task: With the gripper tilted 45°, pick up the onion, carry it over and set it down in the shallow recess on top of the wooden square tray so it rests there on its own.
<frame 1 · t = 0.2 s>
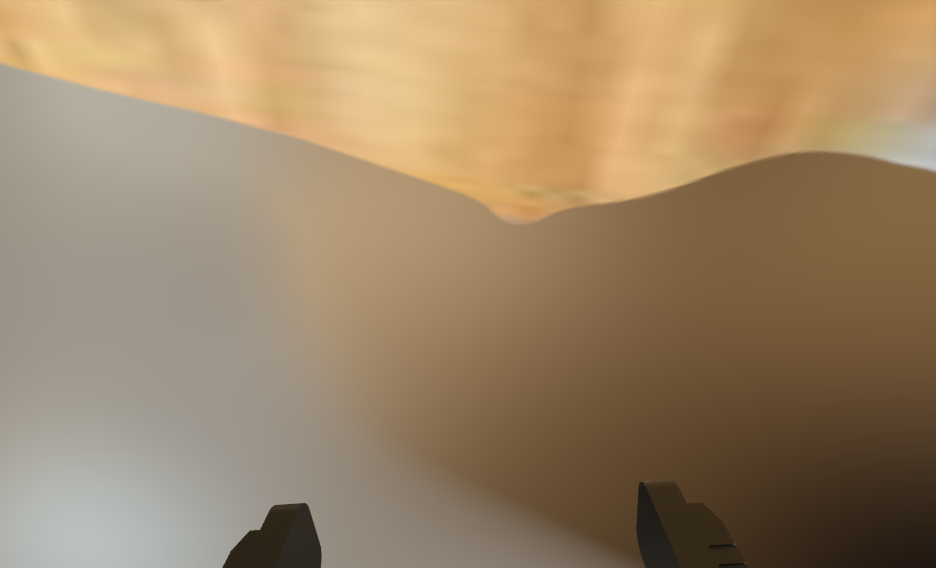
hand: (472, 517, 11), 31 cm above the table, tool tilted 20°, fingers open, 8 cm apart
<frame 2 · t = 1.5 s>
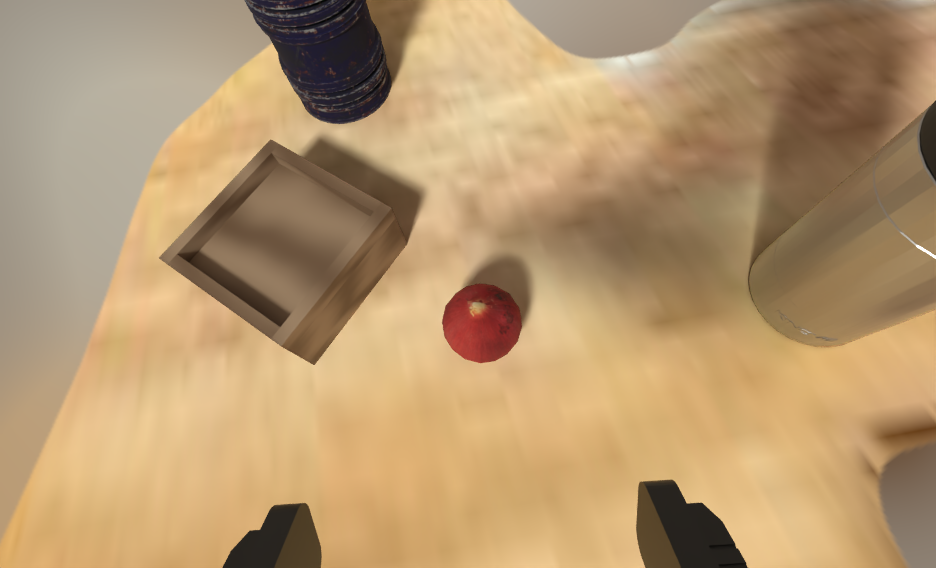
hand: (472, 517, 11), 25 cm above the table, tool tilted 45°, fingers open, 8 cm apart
wooden square tray: (307, 267, 43), on the table
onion: (484, 337, 39), on the table
storage jar: (346, 88, 50), on the table
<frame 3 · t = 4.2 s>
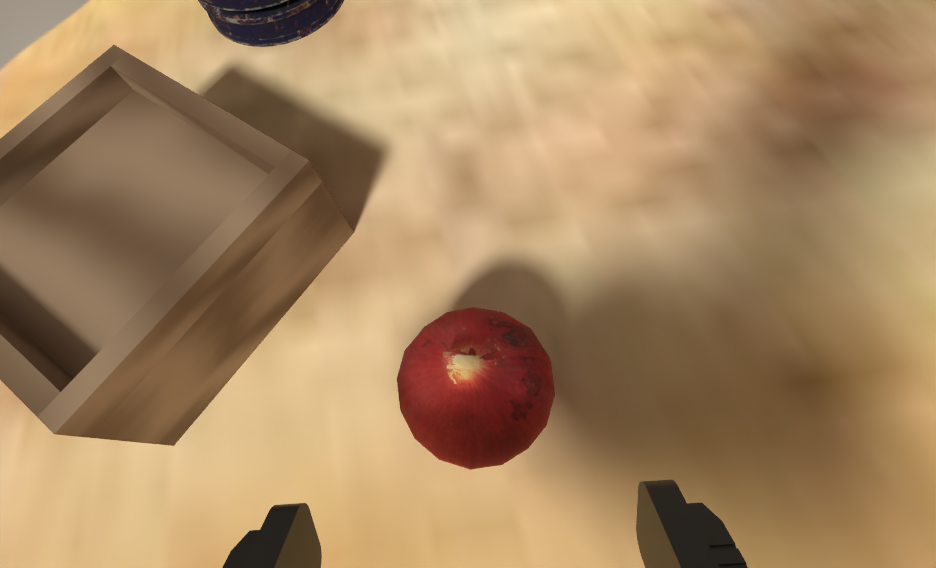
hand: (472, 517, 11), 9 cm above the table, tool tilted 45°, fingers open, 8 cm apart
wooden square tray: (187, 268, 25), on the table
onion: (481, 400, 21), on the table
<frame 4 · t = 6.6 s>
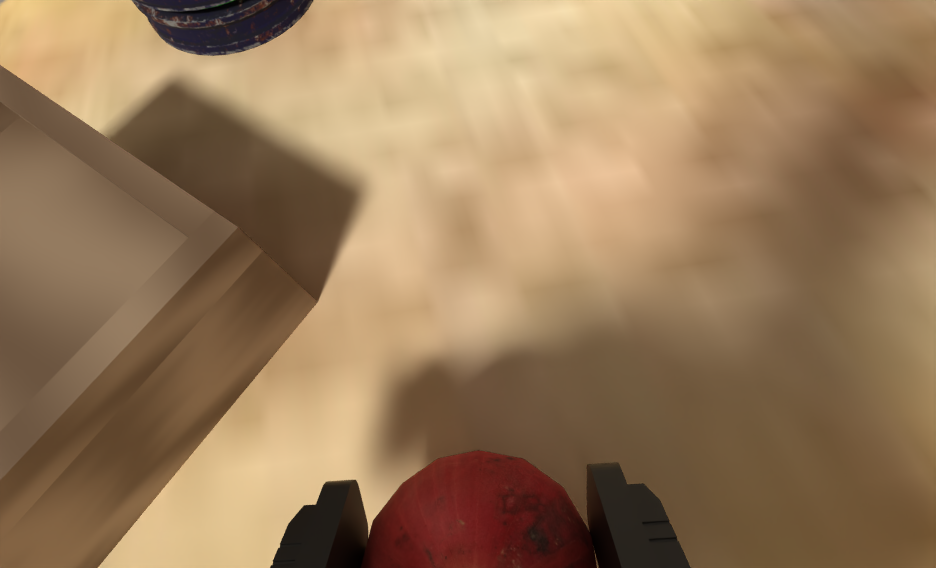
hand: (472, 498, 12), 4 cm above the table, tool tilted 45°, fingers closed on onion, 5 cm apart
wooden square tray: (100, 348, 19), on the table
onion: (486, 551, 15), on the table, touching gripper
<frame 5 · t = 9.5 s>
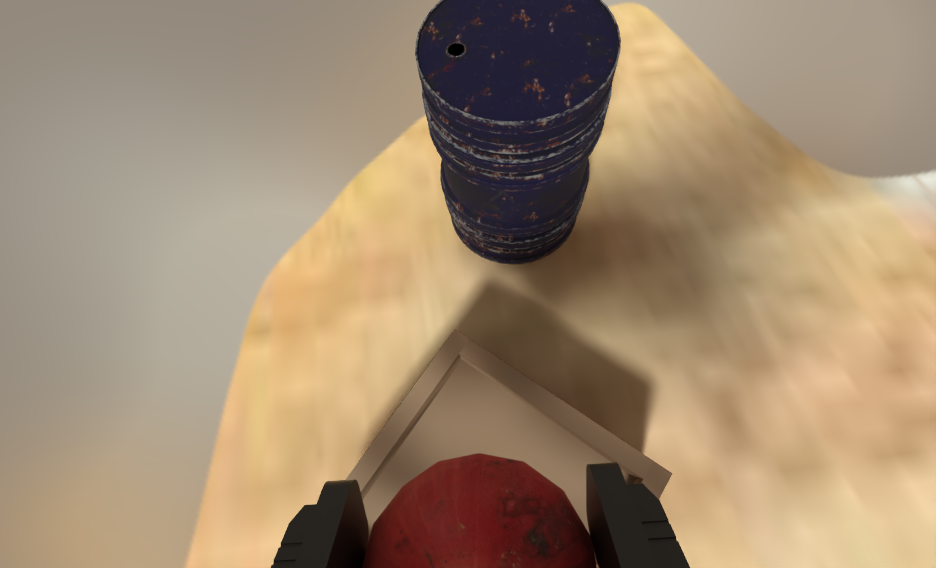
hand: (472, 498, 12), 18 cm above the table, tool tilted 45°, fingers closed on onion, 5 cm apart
wooden square tray: (490, 501, 29), on the table
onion: (486, 553, 15), point 14 cm above the table, touching gripper
storage jar: (513, 208, 36), on the table
when the fingers open (10 cm above the table, at t = 12.5 s): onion stays where it is, resting on wooden square tray.
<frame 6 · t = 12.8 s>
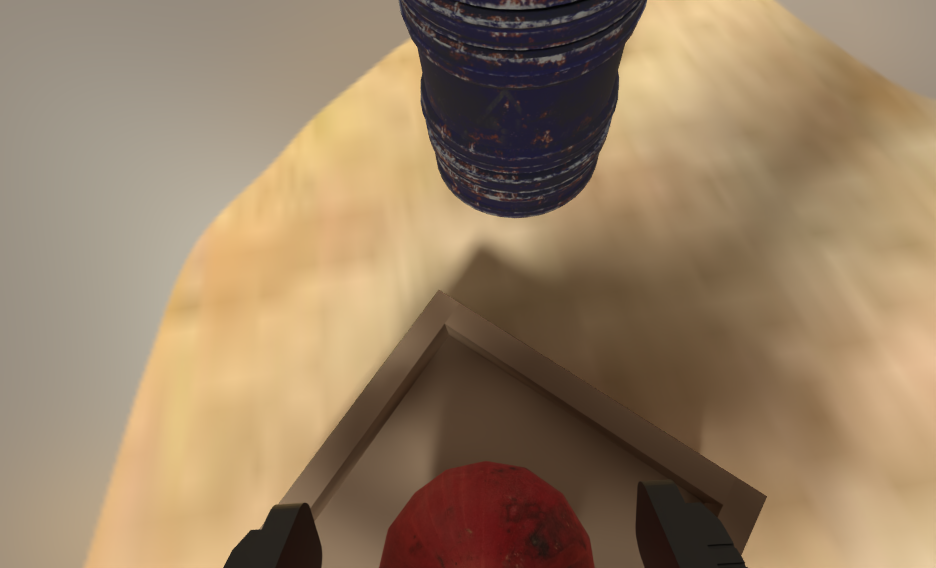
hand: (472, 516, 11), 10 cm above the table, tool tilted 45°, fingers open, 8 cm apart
wooden square tray: (489, 531, 21), on the table, touching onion
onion: (493, 552, 17), point 4 cm above the table, touching wooden square tray
storage jar: (515, 150, 28), on the table
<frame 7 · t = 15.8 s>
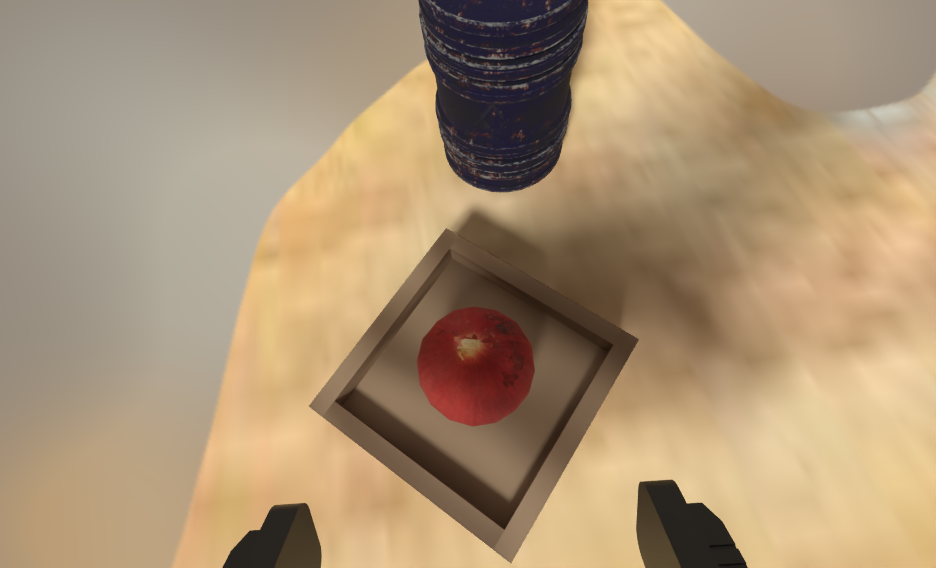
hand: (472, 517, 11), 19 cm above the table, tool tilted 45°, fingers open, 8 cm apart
wooden square tray: (479, 392, 32), on the table, touching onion
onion: (478, 380, 27), point 4 cm above the table, touching wooden square tray
storage jar: (502, 144, 39), on the table
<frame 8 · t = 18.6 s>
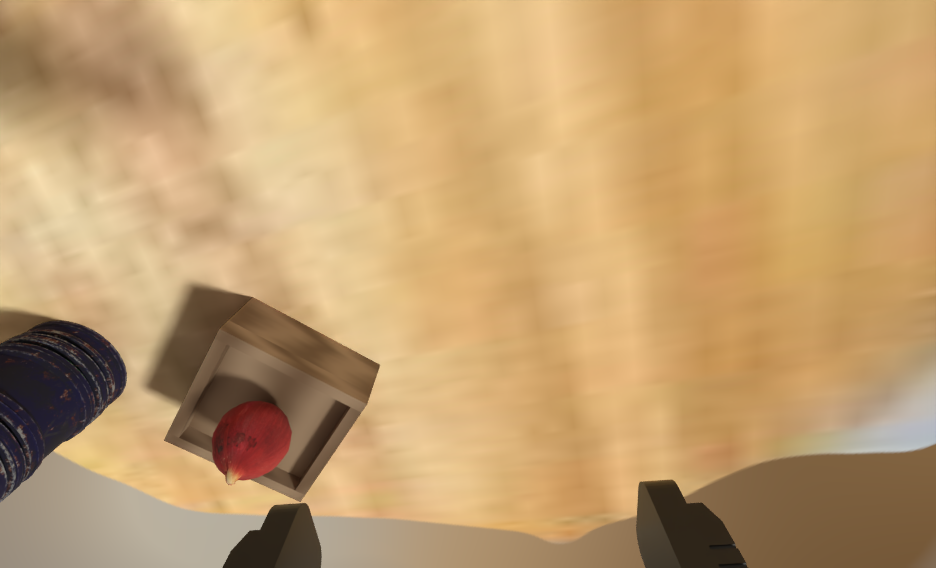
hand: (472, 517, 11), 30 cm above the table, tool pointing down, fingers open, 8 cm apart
wooden square tray: (290, 379, 46), on the table, touching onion
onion: (271, 408, 42), point 4 cm above the table, touching wooden square tray
storage jar: (76, 364, 45), on the table
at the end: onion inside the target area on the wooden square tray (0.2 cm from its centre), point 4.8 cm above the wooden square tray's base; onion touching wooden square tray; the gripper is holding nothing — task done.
